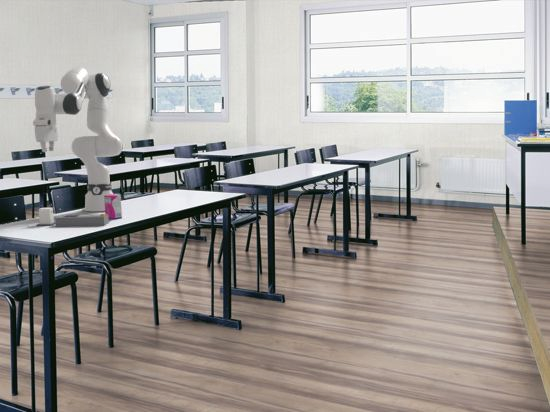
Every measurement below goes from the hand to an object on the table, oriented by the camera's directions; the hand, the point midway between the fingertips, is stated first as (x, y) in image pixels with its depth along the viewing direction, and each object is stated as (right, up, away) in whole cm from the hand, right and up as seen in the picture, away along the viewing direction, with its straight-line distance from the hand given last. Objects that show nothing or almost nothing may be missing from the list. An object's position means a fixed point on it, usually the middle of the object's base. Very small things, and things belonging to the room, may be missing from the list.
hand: (48, 151), depth 306 cm
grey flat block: (+18, -33, -1) cm, 38 cm away
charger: (+1, -33, -4) cm, 34 cm away
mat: (+1, -34, -4) cm, 34 cm away
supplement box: (+27, -32, +13) cm, 44 cm away
